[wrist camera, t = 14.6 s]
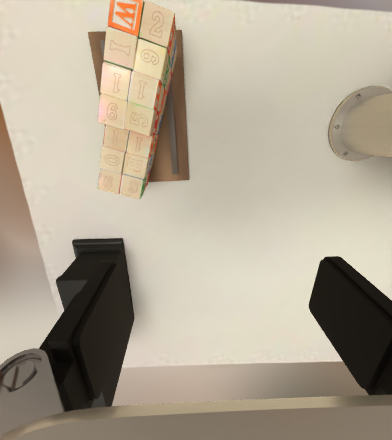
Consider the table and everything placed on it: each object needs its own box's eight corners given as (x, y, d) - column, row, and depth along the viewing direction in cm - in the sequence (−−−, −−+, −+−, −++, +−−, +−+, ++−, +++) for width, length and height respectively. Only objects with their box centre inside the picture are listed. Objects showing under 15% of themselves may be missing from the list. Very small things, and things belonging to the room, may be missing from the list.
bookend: (72, 238, 46) (-23, 334, 25) (123, 237, 47) (74, 329, 25) (92, 319, 56) (35, 441, 34) (135, 317, 56) (106, 435, 35)
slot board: (181, 32, 34) (181, 25, 32) (188, 178, 43) (189, 181, 41) (90, 34, 33) (83, 27, 31) (117, 182, 42) (113, 185, 40)
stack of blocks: (148, 185, 40) (135, 207, 29) (114, 176, 39) (87, 195, 28) (177, 51, 33) (175, 10, 21) (136, 35, 32) (110, -17, 20)
